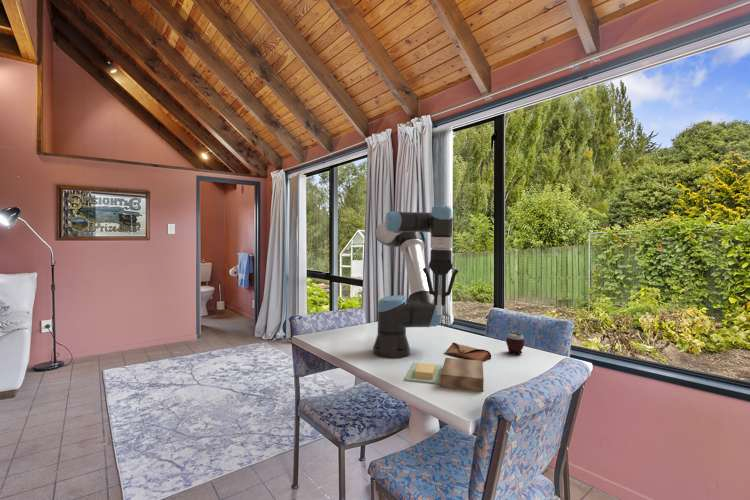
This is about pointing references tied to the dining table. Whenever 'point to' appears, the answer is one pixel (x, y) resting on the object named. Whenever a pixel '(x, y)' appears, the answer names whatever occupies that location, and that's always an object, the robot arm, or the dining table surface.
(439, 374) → the mat
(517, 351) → the mate gourd
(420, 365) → the yellow rectangular block
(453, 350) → the sunglasses case
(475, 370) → the brown piece
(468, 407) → the dining table surface
